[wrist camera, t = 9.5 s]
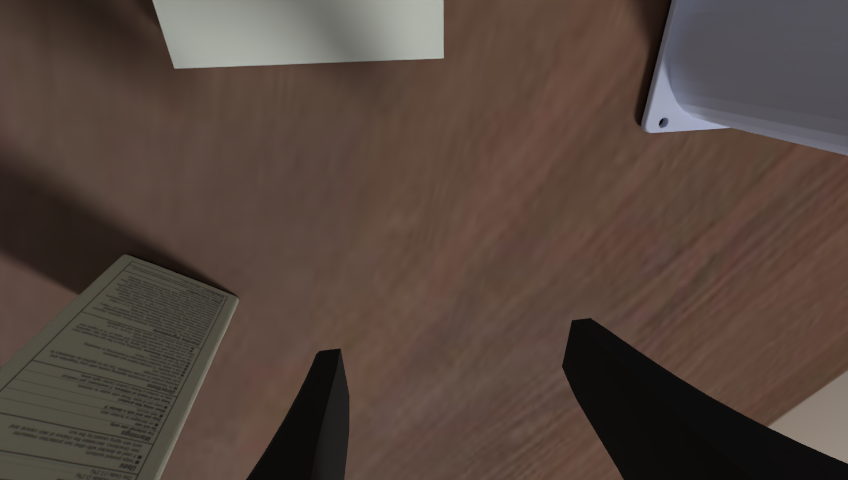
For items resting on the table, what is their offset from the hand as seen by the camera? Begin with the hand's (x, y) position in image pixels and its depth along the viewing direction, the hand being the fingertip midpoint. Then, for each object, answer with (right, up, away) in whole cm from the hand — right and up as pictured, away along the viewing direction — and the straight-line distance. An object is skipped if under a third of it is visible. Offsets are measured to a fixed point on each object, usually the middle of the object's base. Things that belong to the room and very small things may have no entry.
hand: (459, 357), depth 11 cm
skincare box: (-15, 0, +10) cm, 18 cm away
